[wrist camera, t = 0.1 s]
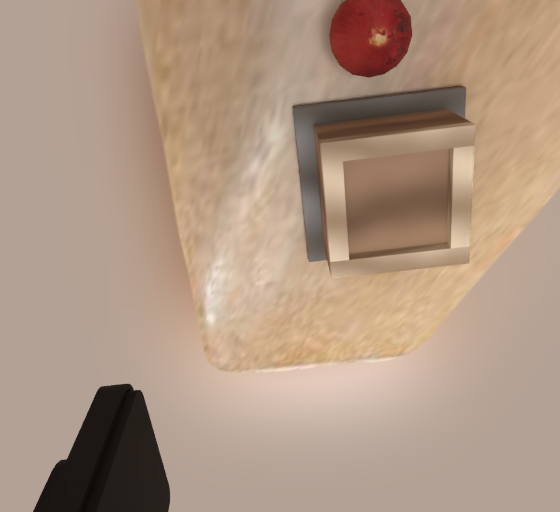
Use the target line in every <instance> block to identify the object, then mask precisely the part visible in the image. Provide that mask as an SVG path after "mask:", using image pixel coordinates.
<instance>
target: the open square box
mask: <svg viewBox="0 0 560 512" xmlns="http://www.w3.org/2000/svg"><path fill="white" fill-rule="evenodd" d="M465 100H466V87H463V86H456V87H448V88H440V89H432V90H424V91H415V92H407V93H399V94H391V95H383V96H374V97H366V98H358V99H350V100H342V101H333V102H325V103H317V104H309V105H301V106H293V114H294V123H295V133H296V143H297V153H298V163H299V172H300V182H301V192H302V202H303V212H304V222H305V231H306V241H307V251H308V259H309V262H313V261H322V260H327V261H328V265H329V269H330V274H331V278H332V279H334V278H343V277H351V276H360V275H369V274H378V273H387V272H396V271H405V270H414V269H423V268H432V267H441V266H449V265H458V264H467V263H469V256H470V235H471V213H472V191H473V169H474V147H475V124H473V123H472V122H470V121H468V120H466V119H465Z"/></svg>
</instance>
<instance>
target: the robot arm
mask: <svg viewBox="0 0 560 512" xmlns="http://www.w3.org/2000/svg"><path fill="white" fill-rule="evenodd" d="M169 504H170V489H169V484H168V480H167V477H166V473H165V470H164V466H163V463H162V459H161V456H160V452H159V449H158V445H157V442H156V438H155V434H154V431H153V428H152V424H151V420H150V417H149V413H148V410H147V407H146V403H145V400H144V396H143V394H142V392H141V390H135V391H134V390H133V387H132V386H131V385H130V384H121V385H111V386H102V387H100V388H99V389H98V391H97V393H96V395H95V397H94V400H93V402H92V404H91V407H90V409H89V411H88V413H87V416H86V418H85V420H84V422H83V424H82V427H81V429H80V431H79V434H78V436H77V438H76V440H75V442H74V445H73V447H72V449H71V451H70V454H69V456H68V458H67V460H61V461H59V462H58V463H57V464H56V465H55V467H54V469H53V470H52V472H51V474H50V476H49V479H48V481H47V483H46V485H45V487H44V489H43V491H42V494H41V496H40V498H39V500H38V502H37V504H36V507H35V509H34V511H33V512H168V510H169Z"/></svg>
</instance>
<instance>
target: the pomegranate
mask: <svg viewBox="0 0 560 512" xmlns="http://www.w3.org/2000/svg"><path fill="white" fill-rule="evenodd" d="M411 37H412V28H411V17H410V15H409V13H408V11H407V10H406V8H405V6H404V5H403V3H402V2H401V0H346V1H345V2H343V3H342V4H341V5H340V7H339V9H338V10H337V12H336V14H335V15H334V17H333V19H332V23H331V29H330V41H331V47H332V52H333V54H334V56H335V58H336V59H337V61H338V63H339V64H340V66H342V67H343V68H344V69H346V70H347V71H348V72H350V73H351V74H353V75H358V76H364V77H373V76H377V75H381V74H385V73H386V72H388V71H389V70H391V69H393V68H394V67H396V66H397V65H398V64H399V62H400V61H401V60H402V58H403V57H404V56H405V55H406V53H407V51H408V47H409V44H410V41H411Z"/></svg>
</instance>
